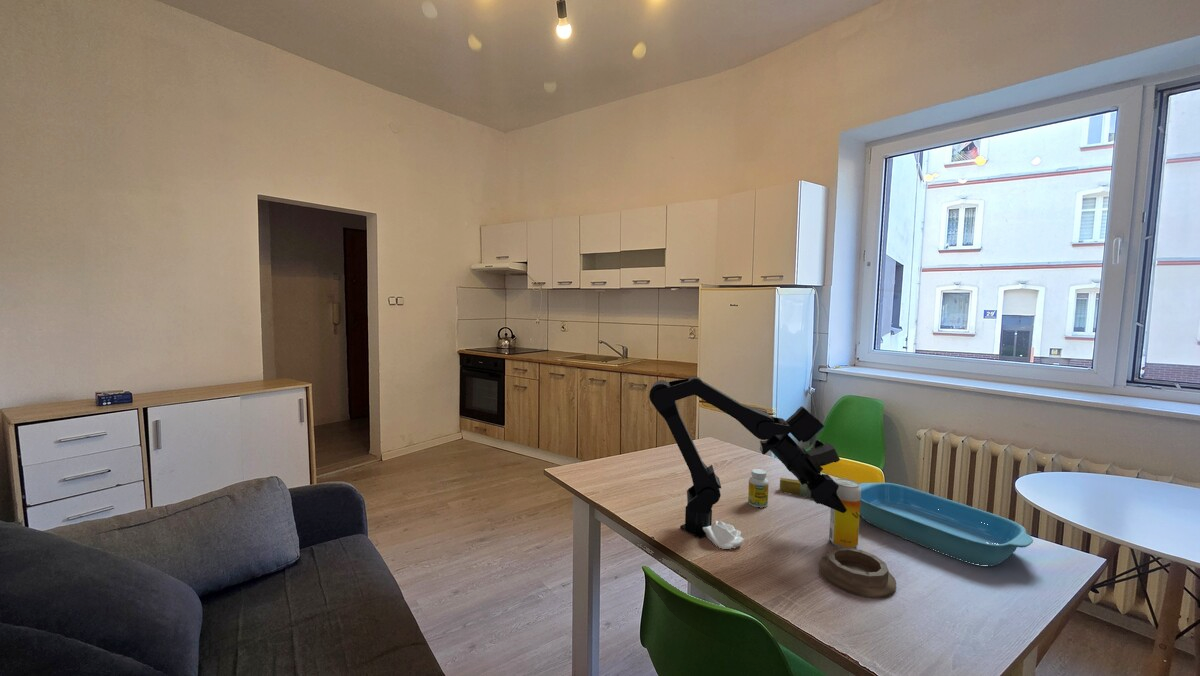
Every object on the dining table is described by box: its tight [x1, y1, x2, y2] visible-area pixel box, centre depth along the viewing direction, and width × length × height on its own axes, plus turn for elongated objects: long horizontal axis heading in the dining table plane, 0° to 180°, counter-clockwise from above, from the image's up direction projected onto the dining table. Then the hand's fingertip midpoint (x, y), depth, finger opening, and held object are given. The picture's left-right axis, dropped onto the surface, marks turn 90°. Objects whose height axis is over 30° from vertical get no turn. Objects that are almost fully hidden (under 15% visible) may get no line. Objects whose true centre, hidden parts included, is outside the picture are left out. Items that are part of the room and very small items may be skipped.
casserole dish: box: [859, 482, 1034, 567], centre depth 115 cm, size 37×22×7 cm, turn 33°
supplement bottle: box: [747, 468, 770, 509], centre depth 131 cm, size 5×5×10 cm
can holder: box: [818, 547, 897, 599], centre depth 96 cm, size 14×14×4 cm
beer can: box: [828, 477, 861, 549], centre depth 109 cm, size 6×6×15 cm
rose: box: [702, 520, 744, 550], centre depth 110 cm, size 10×4×10 cm
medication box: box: [779, 477, 811, 498], centre depth 139 cm, size 12×3×4 cm, turn 65°
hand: (838, 503), depth 109 cm, fingers open, 9 cm apart
